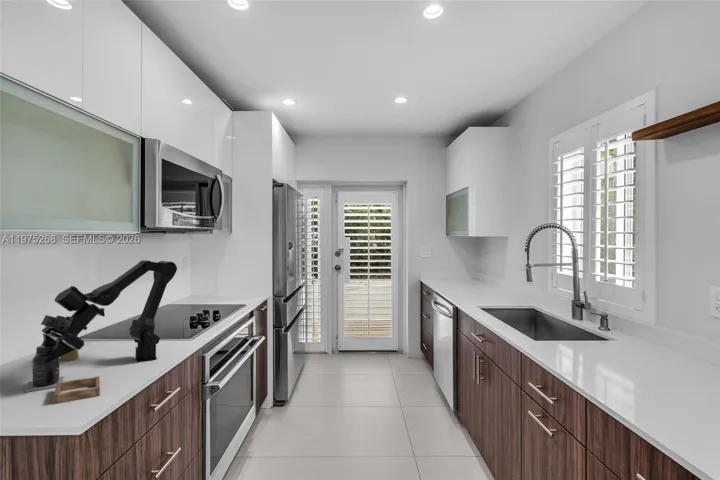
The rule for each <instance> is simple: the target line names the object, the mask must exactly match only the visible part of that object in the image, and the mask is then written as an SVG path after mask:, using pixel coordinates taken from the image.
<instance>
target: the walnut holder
mask: <svg viewBox="0 0 720 480" xmlns="http://www.w3.org/2000/svg"><path fill="white" fill-rule="evenodd" d="M100 378H101V377H100V376H98V375H97V376H93V377H85V378H80V379H73V380H66V381H65V380H64V381H63V382H59V383H57V385H56V388H54V393H53V405H55V404H61V403H68V402H71V401H78V400H85V399H89V398H95V397H100V396H101V395H100V393H101V381H100ZM94 386H95V387H94ZM89 387H90V388H89ZM77 389H78V390H77ZM70 390H72V391H70ZM65 391H66V392H65Z"/></svg>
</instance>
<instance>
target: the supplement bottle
mask: <svg viewBox="0 0 720 480" xmlns="http://www.w3.org/2000/svg"><path fill="white" fill-rule="evenodd" d="M41 345H42V344H41ZM41 345H39V346H36V349H35V350H36V352H35V353H37V355H36V354H35V355H36V356H35V355H34V356H33V358H32V362H31V363H32V364H31V367H32V370H31V371H32V375H31V376H32V380H31V381H33V386H37V387H39V386H47V385H51V384H54V383H57V382H58V381H59V379H60V377H61V376H60V361H59V360H60V357H58V358H57V359H55V360H53V361H51V362H49V363H45V362H44V360H45V359H46V357H47V356H48V355H49V354H50V352H51V351H52V350H53V349H54V347H55V344H48V345H42V346H41Z"/></svg>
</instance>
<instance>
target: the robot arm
mask: <svg viewBox="0 0 720 480" xmlns="http://www.w3.org/2000/svg"><path fill="white" fill-rule="evenodd" d="M177 271H178V266H177V264H176V263H175V262H173V261H167V260H160V261H158V262H156V261H151V260H146V259H145V260H144V259H141V260H140V261H139V262H138V263H137V264H136V265H134V266H132V267H131V268H130V269H128V270H127V271H126V272H124V273H122V274H121V275H120V276H119V277H117V278H116V279H114V280H113V281H111V282H108V283H106V284H103V285H101V286H99V287H97V288H94V289H93V290H92V291H91V292H87V293H85V294H84V293H83V292H82V291H80V290H79V289H78V288H77V287H76V286H74V285H71V286H70V287H68V288H66V289H64V290H63V291H61V292H59V293H58V294H57V295H56V296H55V298H54V302H55V303H57V304H58V305H60V306H61V307H62V308H64V309H65V310H66V311H67V312H73V311H74V313H72V314H71V315H70V316H62V315H57V316H51V315H49V314H45V316H44V318H43V320H42V321H41V324H40V325H41V326H44V328H42V329H41V332H42V336H43V341H42V343H41V345H40V346H42V345H48V344H55V347H54V349H53V350H52V351H51V352H50V354H49V355H48V356H47V357H46V359H45V360H44V362H45V363H49V362H51V361H53V360H55V359H57V358H58V357H59V358H60V357H61V356H63V355H65V354H67V353H69V352H71V351H75V349H74V347H75V348H76V349H78V351H80V350H81V349H82V348H83V347H84V346H85V341H84V340H83V339H81V338H80V337H79V336H77V335H79V334H80V333H81V332H82V331H83V330H84V331H87V329H88V325H89V324H90V323H91V322H92V321H93V320H94V319H95V317H97V316H99V317H105V315H106V314H105V308H104V307H108V306H110V305H111V304H113V303H114V302H115V301H116V299H118V298H119V296H120V294H121V293H122V292H123V290H125V289H126V288H128V287H129V286H130V285H132V284H133V283H134V282H136V281H137V280H138V279H139V278H141V277H143V276H144V275H145V274H147V273H148V272H153V274H152V275H153V283H152V285H151V289H150V290H149V293H148V297H147V299H146V301H145V304H144V307H143V310H142V312H141V315H140V316H139V318H138V319H132V321H131V326H130V327H129V329H128V330H129V335H130V337H131V338H132V339H133V340H134V341H133V342H134V343H137V344H136V346H135V359H136V361H137V362H148V361H153V360H154V361H155V360H157V359H158V357H157V345H158V344H159V342H160V339H161V337H160V336H158V335H157V334H156V333H154V332H155V327H156V325H155V324H156V323H155V319H156V315H157V313H158V310H159V307H160V304H161V302H162V298H163V296H164V294H165V291H166V288H167V285H168V283H169V282H171V281H172V280H173V278H174V277H175V275H176V273H177ZM88 302H91V303H88ZM97 305H99V306H103V307H98V306H97ZM35 353H36V352H35ZM36 355H37V353H36V354H35V355H34V356H36Z"/></svg>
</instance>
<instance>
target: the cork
mask: <svg viewBox="0 0 720 480" xmlns="http://www.w3.org/2000/svg"><path fill="white" fill-rule="evenodd" d="M78 335H79V334H78ZM78 335H77V337H79V336H78ZM74 349H75V351H71V352H69V353H67V354H65V355H63V356H61V357H59V362H63V363H64V362H72V361H76V360H78V359H79V358H80V355H79V350H78V349H76V348H75V347H74Z"/></svg>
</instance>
